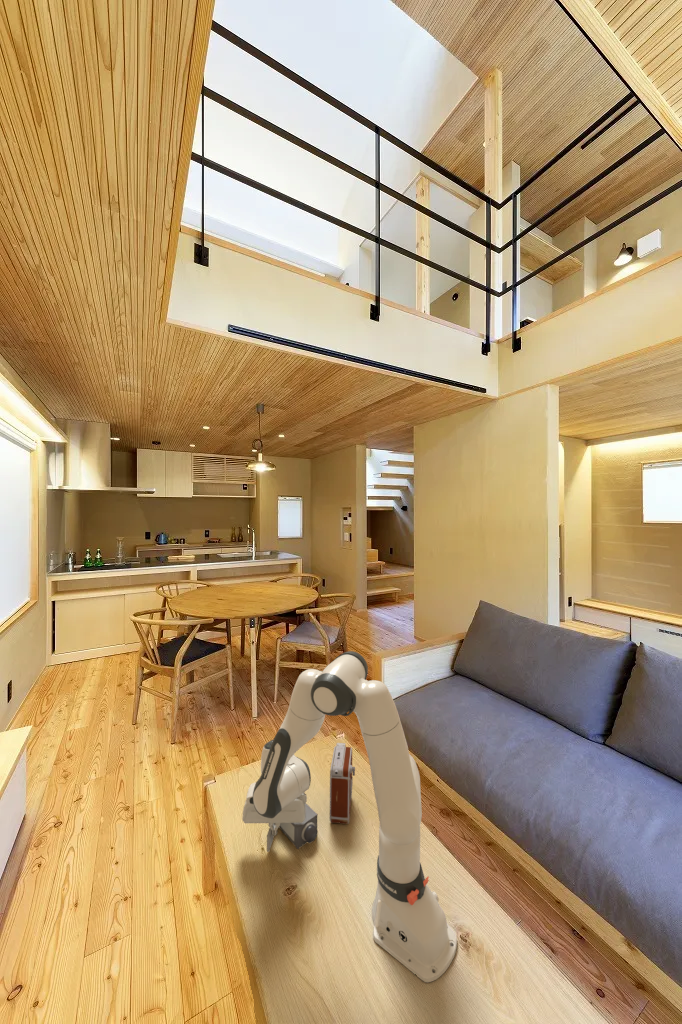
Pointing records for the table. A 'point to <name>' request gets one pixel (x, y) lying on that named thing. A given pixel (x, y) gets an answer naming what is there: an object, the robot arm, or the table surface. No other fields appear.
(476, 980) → the table surface
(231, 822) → the table surface
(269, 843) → the side door
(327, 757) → the table surface
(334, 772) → the cine camera
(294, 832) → the camera body
